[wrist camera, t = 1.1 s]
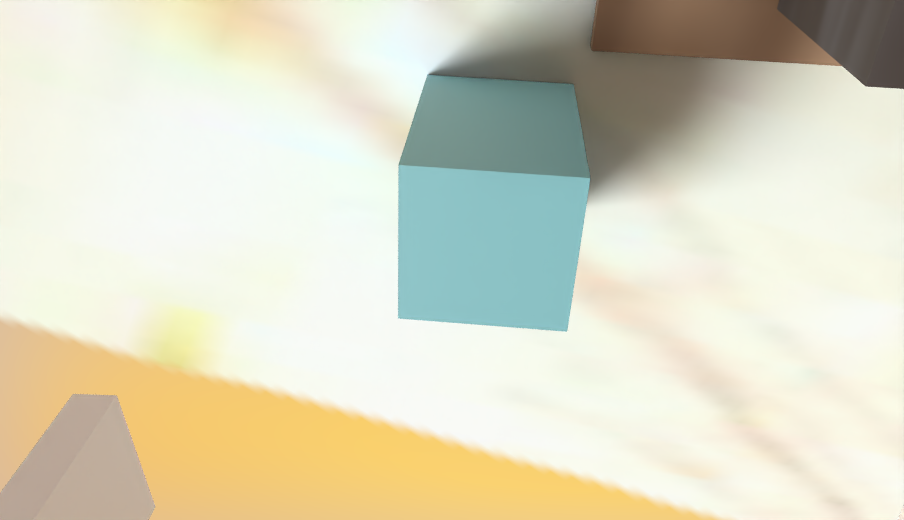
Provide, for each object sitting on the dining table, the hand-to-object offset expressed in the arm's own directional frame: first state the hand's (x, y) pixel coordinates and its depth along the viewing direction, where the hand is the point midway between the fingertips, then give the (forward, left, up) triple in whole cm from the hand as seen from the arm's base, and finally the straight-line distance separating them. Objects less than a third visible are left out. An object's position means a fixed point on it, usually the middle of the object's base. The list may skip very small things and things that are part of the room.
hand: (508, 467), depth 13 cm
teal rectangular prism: (-1, -2, -17) cm, 17 cm away
